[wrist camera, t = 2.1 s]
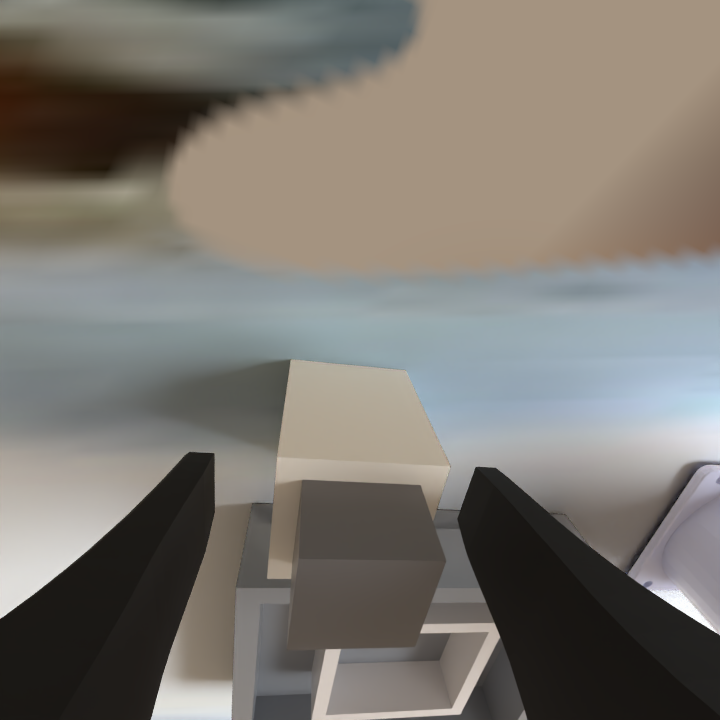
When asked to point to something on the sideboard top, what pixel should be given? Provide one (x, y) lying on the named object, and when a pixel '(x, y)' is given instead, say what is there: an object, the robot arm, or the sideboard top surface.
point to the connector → (356, 508)
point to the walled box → (372, 650)
